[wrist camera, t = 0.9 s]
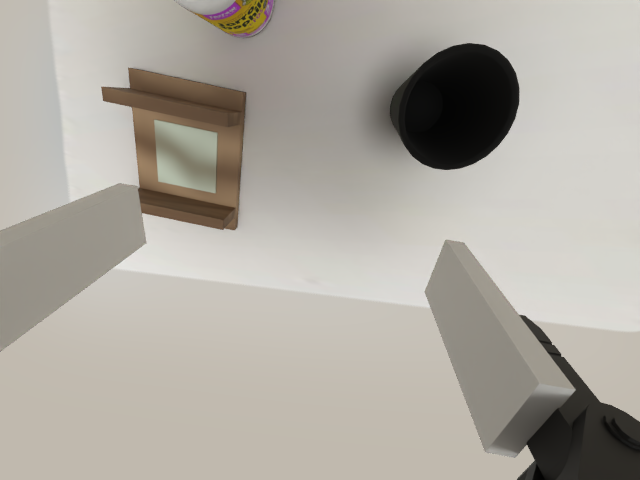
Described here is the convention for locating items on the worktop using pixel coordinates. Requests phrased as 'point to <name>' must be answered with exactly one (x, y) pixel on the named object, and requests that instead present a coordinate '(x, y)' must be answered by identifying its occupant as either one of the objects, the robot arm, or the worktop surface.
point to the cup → (456, 106)
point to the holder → (185, 147)
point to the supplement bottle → (233, 14)
